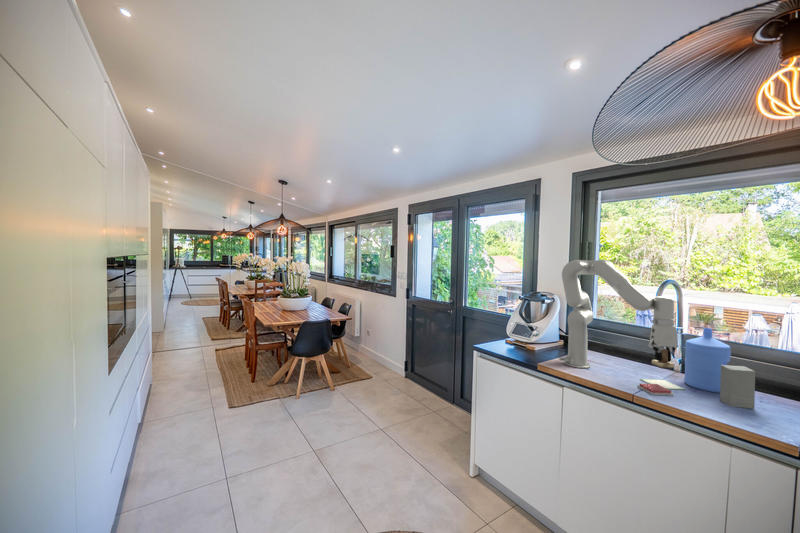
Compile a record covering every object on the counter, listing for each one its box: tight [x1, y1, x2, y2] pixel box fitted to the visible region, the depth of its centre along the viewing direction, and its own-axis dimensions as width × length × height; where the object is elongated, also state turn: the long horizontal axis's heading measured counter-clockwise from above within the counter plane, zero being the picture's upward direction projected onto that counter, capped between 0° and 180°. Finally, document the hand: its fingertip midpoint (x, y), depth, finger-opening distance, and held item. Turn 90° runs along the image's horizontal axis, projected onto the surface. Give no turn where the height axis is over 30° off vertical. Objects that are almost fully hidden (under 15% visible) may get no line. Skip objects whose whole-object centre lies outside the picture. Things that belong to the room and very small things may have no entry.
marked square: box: [639, 378, 686, 391], centre depth 152 cm, size 12×12×1 cm
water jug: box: [683, 327, 732, 394], centre depth 151 cm, size 16×16×28 cm
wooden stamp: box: [651, 348, 675, 370], centre depth 152 cm, size 6×6×8 cm
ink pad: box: [637, 383, 674, 397], centre depth 144 cm, size 9×9×2 cm
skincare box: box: [719, 364, 756, 410], centre depth 131 cm, size 8×7×16 cm
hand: (662, 360), depth 152 cm, fingers closed on wooden stamp, 3 cm apart
